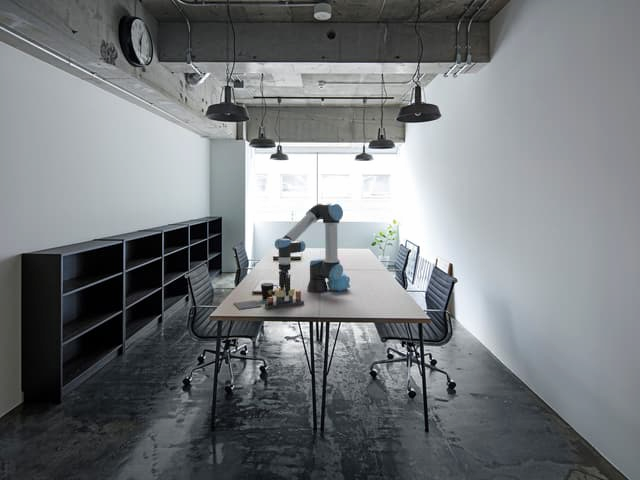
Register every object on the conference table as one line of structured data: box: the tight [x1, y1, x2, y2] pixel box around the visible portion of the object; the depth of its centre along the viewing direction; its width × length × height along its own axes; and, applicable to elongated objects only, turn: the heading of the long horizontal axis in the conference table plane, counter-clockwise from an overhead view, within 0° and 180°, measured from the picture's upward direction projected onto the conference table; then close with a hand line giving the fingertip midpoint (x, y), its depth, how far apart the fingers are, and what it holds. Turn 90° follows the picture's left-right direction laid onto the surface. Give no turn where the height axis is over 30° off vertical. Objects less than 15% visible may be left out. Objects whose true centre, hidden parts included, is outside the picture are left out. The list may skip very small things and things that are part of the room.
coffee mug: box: [260, 282, 279, 301], centre depth 256 cm, size 12×9×10 cm
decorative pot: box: [326, 272, 351, 292], centre depth 282 cm, size 16×16×14 cm
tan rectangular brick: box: [274, 286, 296, 297], centre depth 239 cm, size 11×6×4 cm, turn 117°
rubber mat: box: [233, 300, 262, 311], centre depth 240 cm, size 14×14×1 cm
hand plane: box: [264, 290, 305, 310], centre depth 240 cm, size 24×7×8 cm, turn 117°
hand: (284, 299), depth 240 cm, fingers closed on tan rectangular brick, 6 cm apart
